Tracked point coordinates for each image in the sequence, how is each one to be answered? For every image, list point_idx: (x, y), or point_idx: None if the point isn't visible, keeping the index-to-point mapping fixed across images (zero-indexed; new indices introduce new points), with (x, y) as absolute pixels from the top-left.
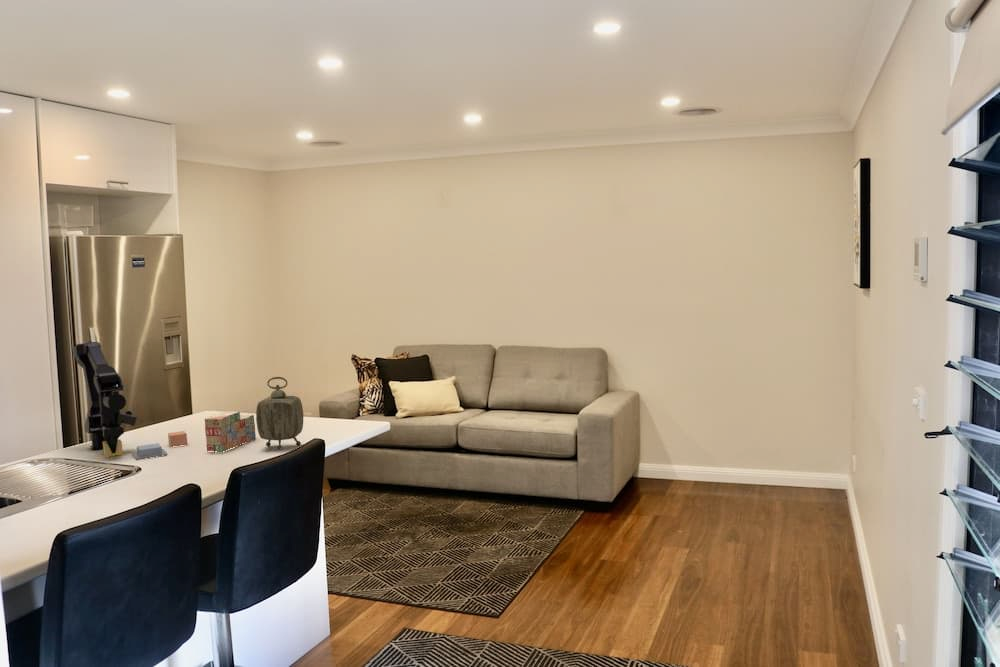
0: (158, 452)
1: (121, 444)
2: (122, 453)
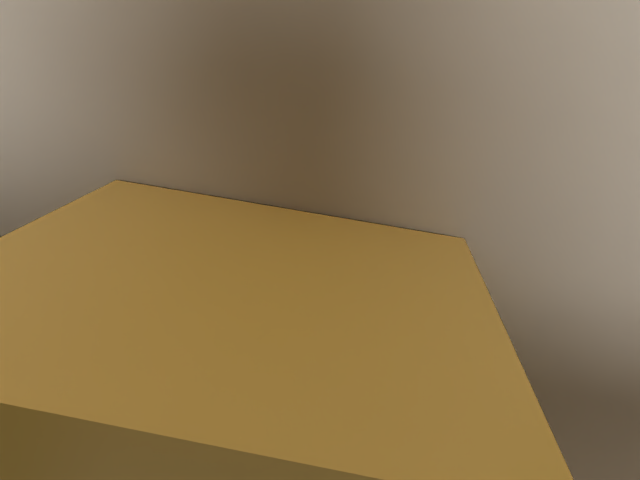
0: None
1: (535, 425)
2: (470, 253)
